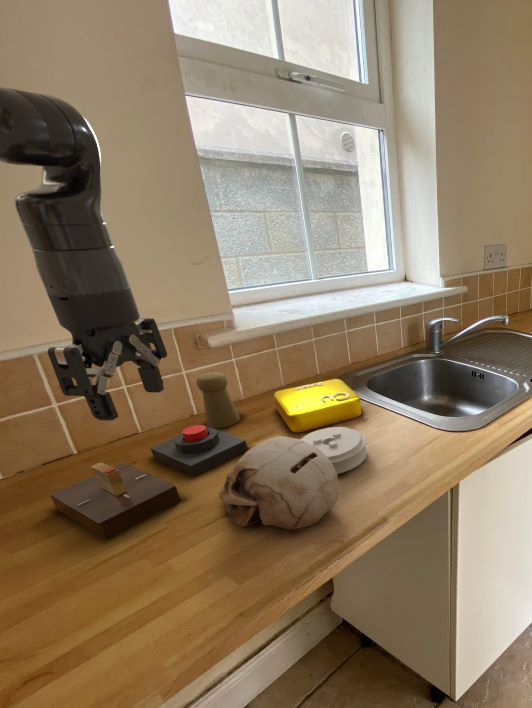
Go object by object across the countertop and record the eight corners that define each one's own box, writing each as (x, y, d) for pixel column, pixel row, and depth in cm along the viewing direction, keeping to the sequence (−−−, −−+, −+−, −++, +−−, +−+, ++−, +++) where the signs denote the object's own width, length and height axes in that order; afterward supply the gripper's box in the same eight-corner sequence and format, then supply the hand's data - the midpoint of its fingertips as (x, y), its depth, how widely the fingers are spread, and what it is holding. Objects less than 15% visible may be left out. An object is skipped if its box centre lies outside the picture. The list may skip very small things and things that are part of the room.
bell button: (180, 439, 83) (177, 431, 82) (200, 431, 86) (198, 423, 85) (192, 444, 81) (189, 436, 81) (212, 435, 84) (210, 427, 84)
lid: (287, 457, 85) (281, 434, 83) (352, 437, 93) (349, 415, 91) (308, 489, 77) (303, 465, 75) (378, 464, 85) (376, 441, 82)
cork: (199, 424, 95) (184, 377, 90) (225, 412, 100) (212, 367, 95) (221, 430, 93) (206, 381, 88) (246, 417, 98) (234, 371, 94)
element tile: (341, 393, 112) (339, 375, 110) (364, 415, 102) (362, 396, 100) (275, 408, 103) (271, 389, 101) (293, 435, 93) (288, 414, 91)
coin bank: (233, 488, 76) (222, 420, 70) (343, 482, 82) (341, 419, 76) (203, 558, 63) (186, 480, 57) (337, 545, 68) (334, 474, 63)
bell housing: (153, 458, 83) (146, 439, 81) (208, 434, 91) (203, 417, 90) (194, 476, 79) (187, 457, 77) (248, 449, 87) (243, 432, 85)
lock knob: (100, 487, 70) (89, 465, 68) (110, 483, 71) (100, 460, 70) (116, 496, 68) (106, 473, 67) (127, 491, 70) (117, 468, 68)
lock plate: (57, 509, 70) (48, 493, 68) (131, 476, 78) (125, 461, 77) (106, 539, 65) (98, 522, 63) (181, 500, 73) (175, 484, 71)
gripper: (103, 273, 61) (142, 383, 68) (-5, 297, 48) (56, 429, 55) (162, 276, 61) (194, 384, 68) (69, 300, 48) (121, 430, 55)
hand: (133, 404), depth 61 cm, fingers open, 8 cm apart
